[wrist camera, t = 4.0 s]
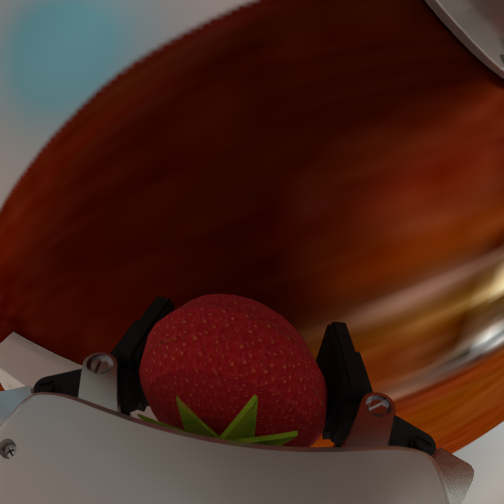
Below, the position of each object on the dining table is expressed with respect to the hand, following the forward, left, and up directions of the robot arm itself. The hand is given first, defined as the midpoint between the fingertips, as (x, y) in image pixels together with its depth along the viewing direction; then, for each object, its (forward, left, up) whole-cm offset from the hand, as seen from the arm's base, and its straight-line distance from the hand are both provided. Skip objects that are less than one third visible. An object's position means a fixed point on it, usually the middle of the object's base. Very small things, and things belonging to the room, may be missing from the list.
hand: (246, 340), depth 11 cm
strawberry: (0, 0, -2) cm, 2 cm away
